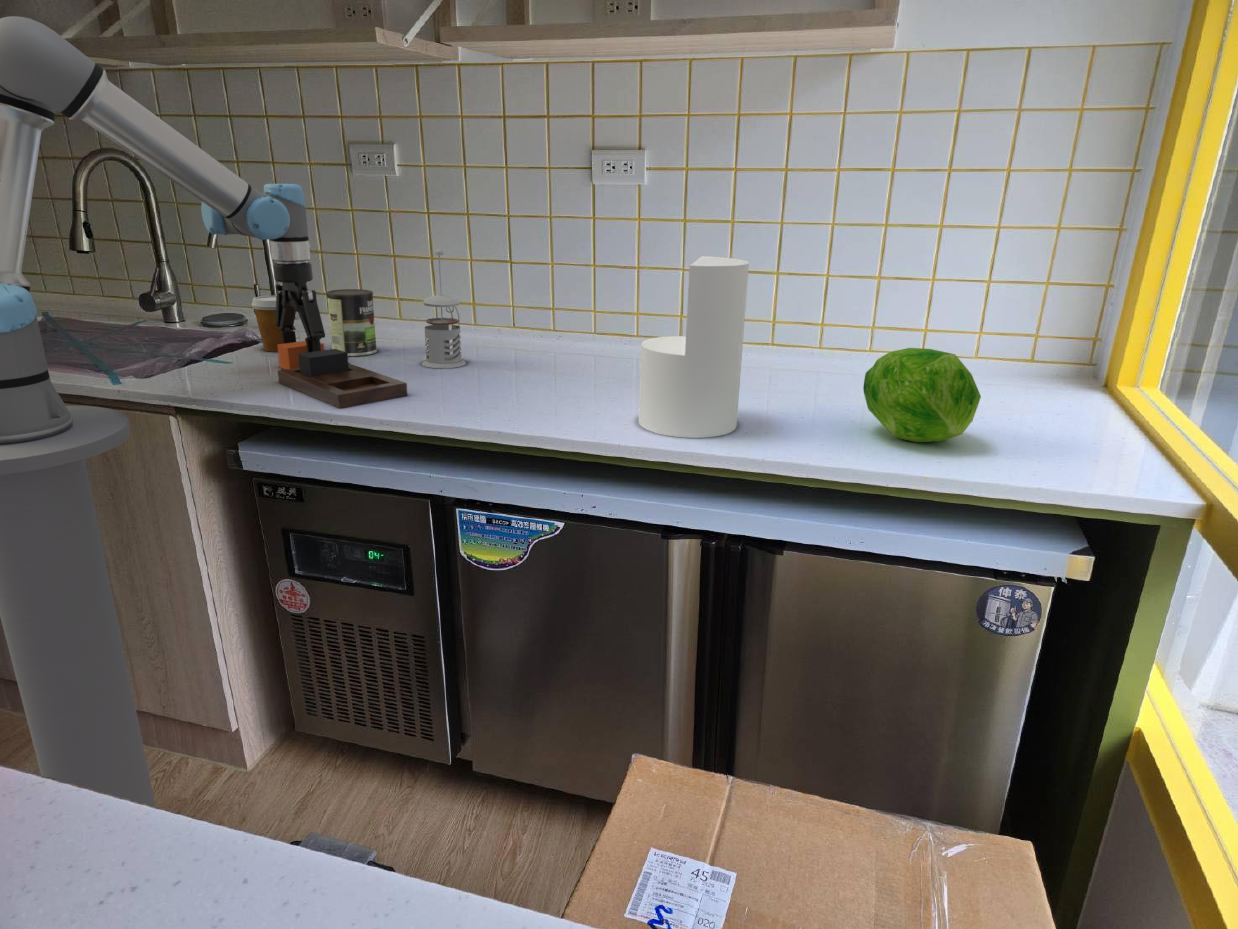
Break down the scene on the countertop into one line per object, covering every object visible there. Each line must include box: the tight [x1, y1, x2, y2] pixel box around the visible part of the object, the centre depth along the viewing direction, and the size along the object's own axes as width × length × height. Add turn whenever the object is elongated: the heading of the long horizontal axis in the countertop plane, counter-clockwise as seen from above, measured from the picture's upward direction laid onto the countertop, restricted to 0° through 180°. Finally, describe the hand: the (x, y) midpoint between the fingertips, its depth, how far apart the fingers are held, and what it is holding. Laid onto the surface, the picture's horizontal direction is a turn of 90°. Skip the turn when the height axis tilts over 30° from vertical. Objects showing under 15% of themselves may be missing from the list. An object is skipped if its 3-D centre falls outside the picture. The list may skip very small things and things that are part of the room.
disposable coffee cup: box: [250, 295, 294, 353], centre depth 193 cm, size 10×10×12 cm
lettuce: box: [862, 347, 982, 443], centre depth 137 cm, size 17×20×17 cm
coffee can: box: [325, 288, 378, 357], centre depth 191 cm, size 10×10×14 cm
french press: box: [421, 248, 467, 369], centre depth 181 cm, size 10×12×25 cm
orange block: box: [277, 340, 325, 370], centre depth 177 cm, size 8×5×5 cm, turn 135°
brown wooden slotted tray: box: [277, 362, 408, 409], centre depth 160 cm, size 14×25×2 cm, turn 45°
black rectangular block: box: [298, 348, 349, 377], centre depth 164 cm, size 8×5×5 cm, turn 135°
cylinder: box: [638, 255, 750, 439], centre depth 140 cm, size 17×17×28 cm
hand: (303, 365), depth 178 cm, fingers open, 11 cm apart
